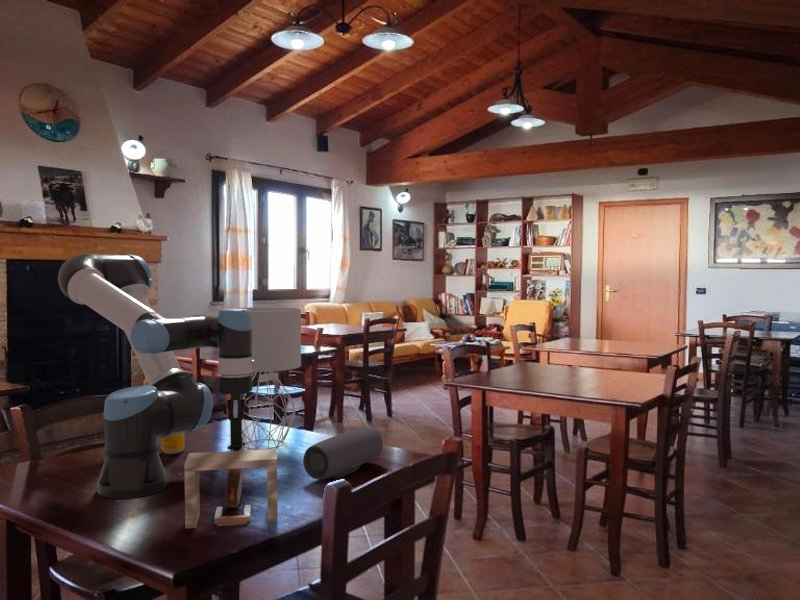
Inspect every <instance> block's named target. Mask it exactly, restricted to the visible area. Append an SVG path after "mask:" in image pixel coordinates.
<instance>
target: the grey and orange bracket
mask: <svg viewBox="0 0 800 600" xmlns="http://www.w3.org/2000/svg"><path fill="white" fill-rule="evenodd" d="M251 507H252V506H251V504H244V510H243V514H238V515H225V516H223V509H224V507H223V506H216V509H215V514H214V522H213V523H214V525H216V526H217V527H228V526H241V525H243V526H244V525H247V524H248V523H250V522H251V511H252V509H251Z"/></svg>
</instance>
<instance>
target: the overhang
mask: <svg viewBox="0 0 800 600" xmlns="http://www.w3.org/2000/svg"><path fill="white" fill-rule="evenodd" d="M239 468H243V469H252V468H253V469H254V468H266V492H267V493H266V505H267V506H266V507H267V508H266V513H267V516H266V517H267V518H266V519H267V523H268V524H270V523H278V453H277V448H271V449H265V448H262V449H260V450H257V449H249V450H248V449H245V450H243V451H231V450H227V451H226V450H223V451H206V452H189V453H188V454H187V458H186V459H185V462H184V519H185V520H184V521H185V522H184V524H185V525H184V527H185V528H184V529H186V530H187V529H196V528H197V524H198V521H199V518H200V515H201V513H200V512H201V511H200V509H201V507H200V501H201V500H200V471H218V470H219V471H221V470H229V469H239Z"/></svg>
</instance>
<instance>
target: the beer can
mask: <svg viewBox="0 0 800 600" xmlns="http://www.w3.org/2000/svg"><path fill="white" fill-rule="evenodd" d="M184 449H185V433H181V434H176V435H172V436H168V437H163V438H161V451H163V453H164V454H166V455H174V454H175V455H176V454H180V453H182V452H183V451H184Z"/></svg>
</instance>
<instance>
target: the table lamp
mask: <svg viewBox="0 0 800 600" xmlns="http://www.w3.org/2000/svg"><path fill="white" fill-rule="evenodd" d="M236 308H237V309H240V308H241V309H248V310H249V311H250V312H251V321H252V359H251V360H254V361H255V363H254V364H251V365H252V372H251V374H250V375H251V376H252V382H253V381H254V380H255V377H256V375H257V373H259V374H258V375H259V376H258V381H257V385H256V391H255V392H254V393H253V394H252V395H250V396H249V397H248V398H246V395H247V393H243V397H242V399H244V398H246V399H245V406H246V407H248V409H249V410H250V411H251V413H252V416H251V415H249V414H248V413H247V412H245V411H244V415H247V416H248V417H250V418H251V419H252V421H251V422H250V424H249V425H248V426H247V425H246V421H245V417H244V418H243V420H242V421H243V423H244V425H245V429H244V430H242V438H243V440H242V442H245V446H243V447H244V448H247V449H249V450H261V448H260V447H261V446H262V445H263V443H264V442H265V440H266V441H267V447H266V448H264V449H277V448H279V447H281V446H283V445H284V442H285V440H286V439H287V436H288V433H289V431H290V429H291V427H292V424H293V423H294V419H295V417H296V408H295V403H294V401H293V399H292V396H291V393H290V392H289V391H288V389H286V388H285V387H286V386H284V385H283V383H282V382H281V381H280V379H279V378H278V377H277V375H276V374H275V372H281V371H282V372H284V371H290V370H294V369H299V368H301V366H302V335H301V334H302V328H301V327H302V326H301V325H302V321H301V319H302V318H301V317H302V315H301V314H302V312H301V311H302V309H301V308H297V307H280V306H279V307H277V306H275V307H274V306H273V307H272V306H271V307H270V306H269V307H268V306H267V307H266V306H265V307H261V306H259V307H257V306H255V307H236ZM261 373H263V374H264V379H265V384H266V385H265V386H266V392H267V396H265V394H262V393H261V392H259V387H260V380H261V375H262V374H261ZM268 374H269V376H270V378H271V380H272V382H273V384H274V386H275V389H276V391H277V392H278V395H276V396H275V397H274V398H273V395H272V390H271V385H270V381H269V378H268ZM277 386H278V387H277ZM268 387H269V388H268ZM281 387H282V388H281ZM282 389H283V390H282ZM279 390H280V391H279ZM283 391H284V392H285V393H284V392H283ZM269 392H270V395H269ZM258 393H259V395H261V396H263V397H264V398H266V399H268V401H267V402H265V403H264V404H262V405H261V406H260V407H258ZM281 394H282V395H281ZM254 395H255V397H254V401H253V410H252V409H251V407H249V405H248V404H247V403H246V402H247V401H248V400H249V399H251V398H252V396H254ZM277 397H280V399H281V401H282V404H283V408H282V407H281V406H280V405H278V404H276V403H275V402H273V401H274V400H275V399H277ZM286 398H287V401H286ZM289 401H290V403H291V405H292V407H293V412H292V413H290V415H288V416H287V411H288V409H287V408H288V404H289ZM268 403H269V410H268V411H267V412H265V413H264V414H263V416H261V417H260V418H259V419H258V412H259V410H260V409H261V408H263V407H264V406H265V405H267V404H268ZM274 405H275V406H276V407H278V408H279V409H282V410H283V411H284V414H283V415H284V416H283V418H281V417H280V416H279V414H278V413H277V412H276V409H274V407H273V406H274ZM257 407H258V409H257ZM273 411H274V413H275V414H276V416H277V417H278V418H279V420H280V421H281V422H279V424H278V425H276V426H274V428H273V429H272V428H271V427H272V418H273ZM255 413H256V418H255ZM268 413H269V414H270V415H269V416H270V417H269V419H270V423H269V430H267V429H266V428H264V427H263V426H262V425H261V424H260V422H259V421H260V420H261V419H263V417H264V416H265V415H266V414H268ZM290 417H291V419H290V422H289V421H288V419H289V418H290ZM255 421H256V422H255ZM286 422H287V425H288V427H287V428H286V431H285V433H284V429H285V426H286ZM251 425H252V426H253V430H252V431H253V432H252V435H251V437H250V434H249V430H248V428H249V427H250V426H251ZM259 427H260V428H261V430H262V431H263V433H264V435H265V438H263V439H261V438H260V431H259ZM256 428H257V433H258V439H257V435H256V434H257V433H256ZM271 429H272V430H271ZM278 429H279V431H278V435H277V438H276V440H277V442H275V441H276V440H275V439H274V437H273V435H275V434H276V432H277V430H278ZM245 431H246V432H247V434H246V433H245ZM273 431H274V432H273ZM266 432H267V433H268V434H267V433H266ZM272 432H273V433H272ZM271 433H272V434H271ZM283 434H284V435H283ZM253 436H254V439H253ZM271 438H272V439H271ZM252 439H253V440H252ZM247 440H248V441H247ZM258 441H261V443H260V444H259V445H258ZM270 441H273V443H274V446H273V447H269V446H270V444H269V443H270ZM254 442H255V444H254ZM249 443H251V444H252V445H253V447H255V448H253V447H249ZM276 443H277V444H276ZM246 445H247V446H246Z"/></svg>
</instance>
